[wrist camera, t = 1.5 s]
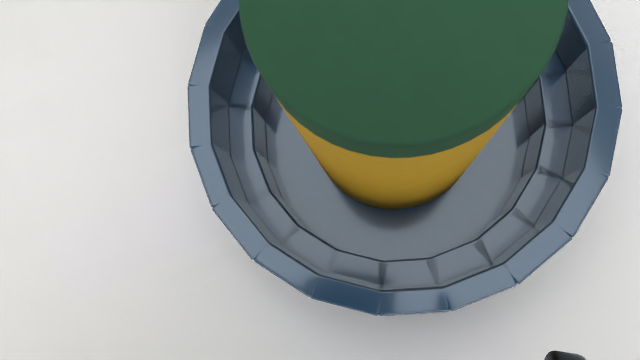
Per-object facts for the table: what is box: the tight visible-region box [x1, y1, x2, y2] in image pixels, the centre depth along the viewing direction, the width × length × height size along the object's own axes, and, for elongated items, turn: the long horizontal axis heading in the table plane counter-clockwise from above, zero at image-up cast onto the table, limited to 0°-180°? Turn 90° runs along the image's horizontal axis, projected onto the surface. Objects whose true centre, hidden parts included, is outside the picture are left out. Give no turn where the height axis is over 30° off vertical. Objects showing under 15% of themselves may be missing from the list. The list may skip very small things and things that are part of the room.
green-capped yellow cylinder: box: [239, 0, 569, 209], centre depth 16 cm, size 6×6×11 cm
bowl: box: [188, 0, 622, 316], centre depth 19 cm, size 12×12×5 cm
